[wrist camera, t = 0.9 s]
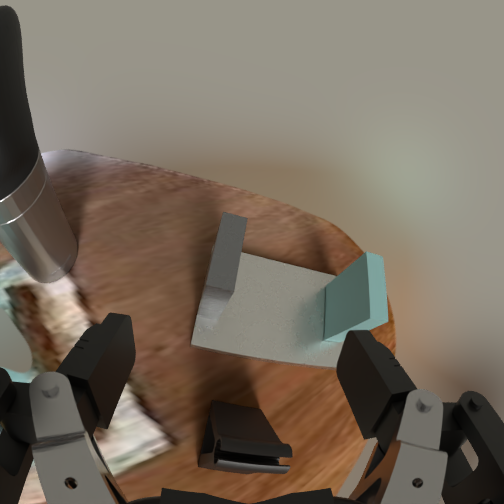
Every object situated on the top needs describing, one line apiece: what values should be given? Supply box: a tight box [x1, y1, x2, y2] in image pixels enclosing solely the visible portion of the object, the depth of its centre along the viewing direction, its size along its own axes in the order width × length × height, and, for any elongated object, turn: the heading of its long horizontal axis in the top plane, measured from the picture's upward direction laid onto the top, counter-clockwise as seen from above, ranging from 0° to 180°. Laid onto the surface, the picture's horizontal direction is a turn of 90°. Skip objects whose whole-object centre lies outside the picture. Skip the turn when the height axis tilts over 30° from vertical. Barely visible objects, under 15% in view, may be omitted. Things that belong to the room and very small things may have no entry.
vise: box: [190, 212, 344, 370], centre depth 32 cm, size 14×20×12 cm
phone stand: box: [198, 400, 292, 474], centre depth 22 cm, size 9×6×12 cm, turn 169°
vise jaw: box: [324, 252, 388, 342], centre depth 32 cm, size 8×4×10 cm, turn 172°
